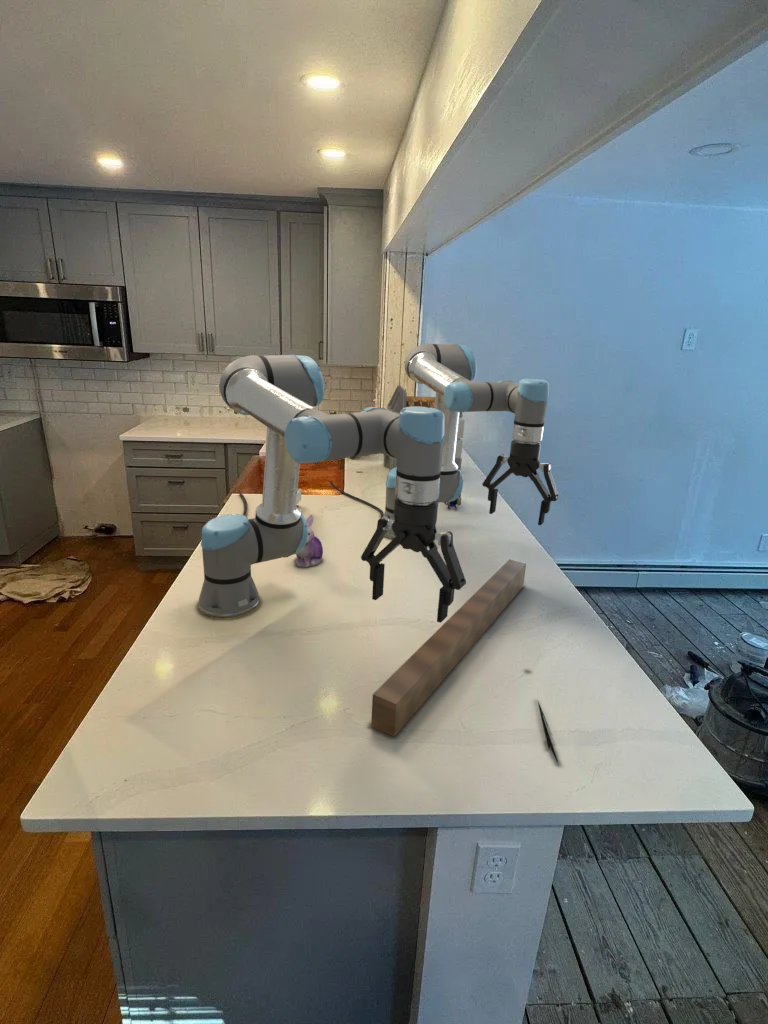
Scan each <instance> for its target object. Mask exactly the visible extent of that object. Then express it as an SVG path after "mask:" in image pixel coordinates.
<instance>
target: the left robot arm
mask: <svg viewBox="0 0 768 1024" xmlns="http://www.w3.org/2000/svg"><path fill="white" fill-rule="evenodd" d="M218 385H219V393H220V396H221V398H222V400H223V402H224V403H225V404H226V405H227V407H229V408H230V409H231V410H233V411H234V412H236V413H237V414H240V415H242V416H243V415H244V416H250V417H252V418H254V419H255V420H256V421H258V422H259V423H261V424H262V425H264V426H266V439H265V456H264V469H263V470H264V471H263V486H262V499H261V500H262V501H261V502H262V503H260V504H258V506H257V507H256V509H255V515H254V516H255V517H254V518H248V516H247V513H248V503H247V500H246V497H245V496H244V495H243V493H242V492H239V496H240V498H241V499H242V501H243V506H244V510H243V513H242V514H239V513H234V514H232V513H229V514H224V515H219V516H216V517H214V518H212V519H209V521H207V522H206V523H205V524H204V525H203V527H202V528H201V540H200V547H201V551H202V565H203V577H204V578H203V582H202V586H201V590H200V593H199V596H198V609H199V611H200V612H201V613H202V614H204V615H205V616H208V617H210V618H214V619H234V618H239V617H243V616H245V615H248V614H250V613H251V612H253V611H255V610H256V609H257V608H258V606H259V604H260V595H259V591H258V588H257V586H256V584H255V581H254V579H253V577H252V566H253V565H255V564H260V563H264V562H269V561H273V560H277V559H283V558H289V557H291V556H293V555H294V556H295V555H296V554H297V553H299V552H301V551H302V550H303V549H304V547H305V545H306V542H307V538H308V529H307V528H306V527H307V522H306V520H307V519H306V517H305V515H304V514H303V513H302V512H301V509H300V508H299V507H297V506H296V500H297V491H298V490H299V479H300V471H301V470H300V468H301V464H307V463H310V464H318V463H322V462H327V461H334V460H341V459H350V457H356V458H358V456H359V457H364V456H373V455H384V454H386V455H388V456H391V457H393V458H396V459H397V469H396V489H395V495H396V497H397V498H396V499H395V504H394V519H395V520H391V519H390V516H388V515H386V516H384V517H381V518H379V519H378V520H377V524H376V529H375V532H373V535H372V536H371V538H370V540H369V541H368V542H367V543H368V544H367V545H366V547H365V549H364V550H363V552H362V554H361V556H360V559H361V561H363V562H366V563H368V566H369V580H370V581H371V582H372V596H371V598H372V600H373V601H377V600H378V599H380V598H381V597H383V596H384V587H385V586H384V583H385V565H386V564H385V563H383V562H382V561H383V560H384V559H386V558H387V557H388V556H389V555H390V554H391V553H392V552H393V551H394V550H395V549H397V548H398V547H399V546H401V547H402V549H403V550H404V549H405V550H411V551H412V552H414V553H421V555H422V556H423V558H425V559H426V560H427V561H428V563H429V565H430V567H431V568H432V570H433V571H434V574H435V575H436V576H437V578H438V580H439V582H440V583H441V585H442V586H441V587H440V588H439V594H438V604H437V616H436V622H437V623H440V624H442V622H443V621H444V620H445V619H446V618H448V614H449V613H448V612H449V607H450V606H451V605H452V604H453V602H454V601H455V592H456V591H460V590H461V589H462V588H463V587H464V586H465V585H466V584H467V580H466V577H465V575H464V572H463V569H462V565H461V562H460V560H459V557H458V554H457V551H456V549H455V545H454V534H453V532H452V531H451V530H449V531H446V532H441V531H438V530H437V521H438V511H439V503H438V502H437V501H436V500H437V499H438V498H439V489H440V475H441V464H442V454H443V443H444V439H445V434H444V429H445V417H444V414H443V412H442V411H440V410H438V409H435V408H428V407H421V406H412V407H406V408H403V409H402V410H401V412H400V414H398V413H395V412H392V411H390V410H387V408H386V407H375V406H368V407H365V408H363V409H362V410H361V411H359V412H350V413H334V414H328V413H326V412H323V411H322V410H320V409H318V408H316V407H318V406H319V405H321V404H322V403H323V400H324V398H325V397H324V396H325V382H324V378H323V374H322V372H321V369H320V367H319V365H318V363H317V362H316V361H315V360H314V359H313V358H312V357H310V356H308V355H300V354H299V355H297V354H295V353H291V354H275V355H274V354H273V355H272V354H271V355H268V354H267V355H255V354H253V355H246V356H242V357H240V358H237V359H234V360H233V361H231V362H230V363H229V364H228V365H227V366H226V367H225V368H224V370H223V372H222V373H221V376H220V378H219V384H218ZM391 527H392V530H393V532H394V534H395V535H396V537H395V538H394V539H391V541H390V542H389V543H388V544H387V545H385V546H384V547H383V548H382V549H381V550H380V551H379V552H378V553H377V554H376V555H375V553H376V551H377V550H378V548H379V547H380V545H381V543H382V541H383V540H384V538H385V537H384V536H385V535H386V533H387V531H388V530H389V529H391ZM435 540H436V541H437V544H436V542H435ZM437 545H438V546H440V551H441V553H442V554H440V552H439V550H438V549H439V548H438V546H437ZM428 548H429V549H428ZM441 555H442V556H441Z"/></svg>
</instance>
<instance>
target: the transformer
mask: <svg viewBox="0 0 768 1024" xmlns="http://www.w3.org/2000/svg"><path fill="white" fill-rule="evenodd" d="M407 394H408V393H407V390H406V389H404V388H403V387H402V385H399V384H398V385H397V386H396V388H395V390H394V392H393V394H392V395H391V398H390V400H389V402H388V404H387V405H386V410H390V411H392V412H395V413H398V414H400V412H401V410H402V409H403V408H406V407H412V406H421V407H428V408H435V397H436V396H415V395H414V396H413V395H412V396H411V395H407ZM464 429H465V419H464V418H463V412H460V415H459V424H458V433H457V442H456V451H455V461H454V462H455V463H456V464H457V465H458V470H460V471H461V472H462V461H463V460H462V453H463V442H464V441H463V440H462V439H463V438H464V431H465V430H464ZM383 466H384V467H388V468H389V471H390V470H392V469H393V468H396V467H397V459H396V458H393V457H391V456H388V455H386V454H383Z"/></svg>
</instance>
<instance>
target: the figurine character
mask: <svg viewBox="0 0 768 1024" xmlns="http://www.w3.org/2000/svg"><path fill="white" fill-rule="evenodd" d="M444 504H445V506H447V509H448V510H451V508H453V507H454V510H457V509H458V507H459V506H461V505H462V493H461V494H460V496H459V497H458V498H457V499H456V500H454V501H450V502H446V503H444ZM450 507H451V508H450Z"/></svg>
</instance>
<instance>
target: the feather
mask: <svg viewBox="0 0 768 1024" xmlns="http://www.w3.org/2000/svg"><path fill="white" fill-rule="evenodd" d="M528 671H530V670H529V669H527V672H528ZM537 705H538V708H539V712H540V713H539V714H540V718H541V719H540V720H541V722H542V728H543V731H544V735H545V740H546V743H547V747H548V749H551V752H552V754H553V756H554V759H555V760H556V762H557V763H559V761H558V758H557V755H556V751H555V749H554V746H556V741H554V743H553V742H552V740H555V739H554V735H553V733H552V732H549V730H551V728H550V727H549V723H548V721H547V719H546V717H545V714H544V711H543V708H542V707H541V705H540V702H539V701H537ZM553 745H554V746H553Z"/></svg>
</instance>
